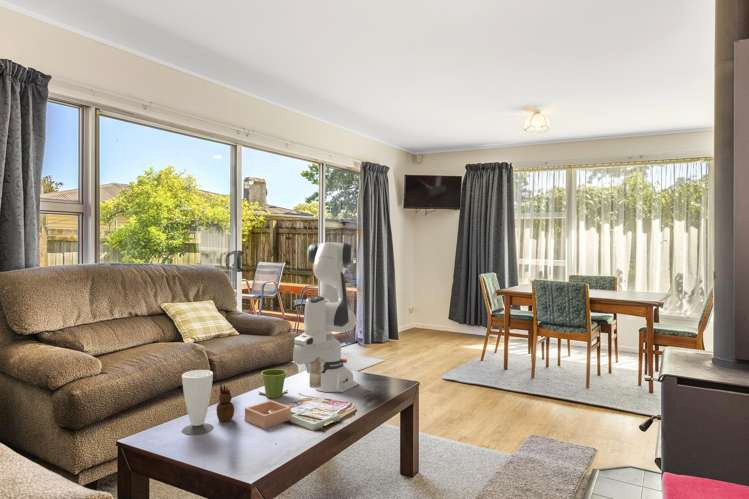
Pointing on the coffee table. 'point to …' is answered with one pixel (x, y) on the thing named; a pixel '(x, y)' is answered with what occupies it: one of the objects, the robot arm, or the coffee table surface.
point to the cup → (197, 400)
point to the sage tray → (313, 425)
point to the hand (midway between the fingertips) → (315, 371)
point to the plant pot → (273, 382)
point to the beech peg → (315, 373)
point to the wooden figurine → (225, 405)
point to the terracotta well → (264, 420)
